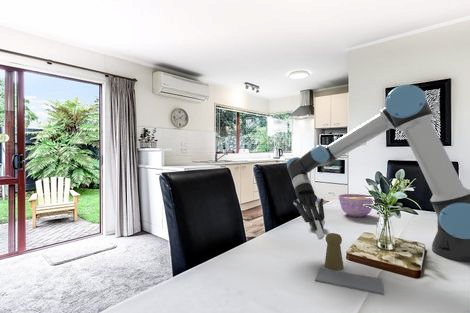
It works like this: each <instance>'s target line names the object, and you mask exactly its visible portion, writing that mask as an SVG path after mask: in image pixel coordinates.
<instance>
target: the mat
mask: <svg viewBox="0 0 470 313" xmlns="http://www.w3.org/2000/svg"><path fill="white" fill-rule="evenodd" d="M314 282H319V283H324V284H330V285H334V286H339V287H345V288H349V289H355V290H360V291H365V292H370V293H373V294H379V295H383V296H384V286H383V279H382V277H381V278H380V277H375V276H369V275H364V274H359V273H358V274H357V273H353V272H352V273H351V272H346V271H342V270H331V269H328V268H326V267H325V268H324V267H319V269H318V271H317V274H316V275H315V279H314Z"/></svg>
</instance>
